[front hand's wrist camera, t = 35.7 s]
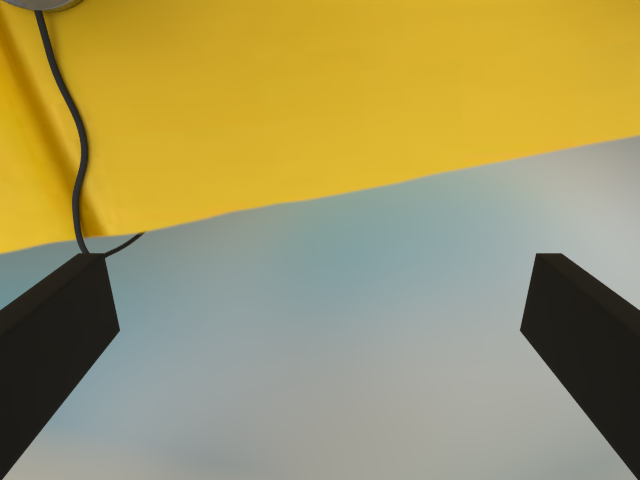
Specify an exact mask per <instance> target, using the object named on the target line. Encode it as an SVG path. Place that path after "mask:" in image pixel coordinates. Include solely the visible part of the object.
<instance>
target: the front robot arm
mask: <svg viewBox="0 0 640 480" xmlns="http://www.w3.org/2000/svg"><path fill="white" fill-rule="evenodd" d="M3 1H5V2H7V3H9V4H11V5H14V6H17V7H21V8H24V9H29V10H33V11H34V12H35V15H36V19H37V23H38V26H39V30H40V33H41V37H42V40H43V44H44V48H45V51H46V55H47V58H48V62H49V65H50V68H51V70H52V73H53V76H54V78H55V80H56V83H57V85H58V87H59V89H60V91H61V93H62V95H63V97H64V99H65V101H66V103H67V105H68V107H69V109H70V111H71V114H72V116H73V118H74V121H75V123H76V126H77V129H78V133H79V137H80V142H81V162H80V168H79V172H78V175H77V179H76V182H75V186H74V190H73V197H72V211H73V221H74V229H75V234H76V239H77V242H78V245H79V247H80V249H81V251H82V253H79V254H77V255H76V256H74V257H73V258H72V259H70V260H69V261H67V262H66V263H65V264H63V265H62V266H61V267H59V268H58V269H57V270H55V271H54V272H52V273H51V274H50V275H48V276H47V277H45V278H44V279H43V280H41V281H40V282H39V283H37V284H36V285H34V286H33V287H32V288H30V289H29V290H28V291H26V292H25V293H24V294H22V295H21V296H19V297H18V298H17V299H15V300H14V301H13V302H11V303H10V304H8V305H7V306H6V307H4V308H3V309H2V310H0V480H2V479H3V478H4V477H5V475H6V474H7V473H8V472H9V470H10V469H11V468H12V466H13V465H14V464H15V463H16V461H17V460H18V459H19V458H20V456H21V455H22V454H23V453H24V451H25V450H26V449H27V448H28V446H29V445H30V444H31V443H32V441H33V440H34V439H35V437H36V436H37V435H38V434H39V432H40V431H41V430H42V429H43V427H44V426H45V425H46V424H47V422H48V421H49V420H50V418H51V417H52V416H53V415H54V413H55V412H56V411H57V410H58V408H59V407H60V406H61V405H62V403H63V402H64V401H65V400H66V398H67V397H68V396H69V394H70V393H71V392H72V391H73V389H74V388H75V387H76V386H77V384H78V383H79V382H80V381H81V379H82V378H83V377H84V375H85V374H86V373H87V372H88V370H89V369H90V368H91V367H92V365H93V364H94V363H95V362H96V360H97V359H98V358H99V356H100V355H101V354H102V353H103V351H104V350H105V349H106V348H107V346H108V345H109V344H110V343H111V341H112V340H113V339H114V338H115V336H116V335H117V334H118V332H119V331H120V328H119V324H118V319H117V314H116V309H115V304H114V300H113V295H112V290H111V286H110V281H109V276H108V271H107V267H106V262H105V258H107V257H108V256H110V255H112V254H114V253H117V252H119V251H120V250H122V249H124V248H126V247H127V246H129V245H130V244H132V243H133V242H134V241H136V240H137V239H138V238H139V237H141V236H142V235H143V234H144V233H145V232H140V233H138V234H136V235H135V236H134V237H133V238H131V239H130V240H129V241H127V242H125V243H124V244H122V245H120V246H119V247H117V248H115V249H112V250H110V251H108V252H106V253H89V252H88V250H87V248H86V246H85V244H84V241H83V237H82V233H81V227H80V219H79V194H80V189H81V185H82V182H83V178H84V175H85V171H86V166H87V160H88V146H87V139H86V134H85V130H84V127H83V124H82V121H81V118H80V116H79V114H78V111H77V109H76V107H75V105H74V103H73V101H72V99H71V97H70V95H69V93H68V91H67V89H66V87H65V85H64V82H63V80H62V78H61V75H60V73H59V70H58V67H57V64H56V61H55V58H54V54H53V50H52V47H51V43H50V39H49V35H48V32H47V28H46V24H45V21H44V17H43V13H42V12H58V11H63V10H66V9H69V8H71V7H73V6H75V5H77V4H78V3H80V2H81V1H82V0H3ZM520 331H521V332H522V334H523V335H524V336H525V338H526V339H527V340H528V341H529V343H530V344H531V345H532V346H533V348H534V349H535V350H536V351H537V353H538V354H539V355H540V357H541V358H542V359H543V360H544V362H545V363H546V364H547V365H548V367H549V368H550V369H551V370H552V372H553V373H554V374H555V375H556V377H557V378H558V379H559V380H560V382H561V383H562V384H563V386H564V387H565V388H566V389H567V391H568V392H569V393H570V394H571V396H572V397H573V398H574V400H575V401H576V402H577V403H578V405H579V406H580V407H581V408H582V410H583V411H584V412H585V413H586V415H587V416H588V417H589V418H590V420H591V421H592V422H593V423H594V425H595V426H596V427H597V429H598V430H599V431H600V432H601V434H602V435H603V436H604V437H605V439H606V440H607V441H608V443H609V444H610V445H611V446H612V448H613V449H614V450H615V451H616V453H617V454H618V455H619V456H620V458H621V459H622V460H623V461H624V463H625V464H626V465H627V467H628V468H629V469H630V470H631V472H632V473H633V474H634V475H635V477H636V478H637V479H638V480H640V310H638V309H637V308H636V307H634V306H633V305H632V304H630V303H629V302H627V301H626V300H625V299H623V298H622V297H621V296H619V295H618V294H616V293H615V292H614V291H612V290H611V289H610V288H608V287H607V286H605V285H604V284H603V283H601V282H600V281H599V280H597V279H596V278H595V277H593V276H592V275H590V274H589V273H588V272H586V271H585V270H583V269H582V268H581V267H579V266H578V265H577V264H575V263H574V262H573V261H571V260H570V259H568V258H567V257H566V256H564V255H563V254H561V253H537V254H536V257H535V262H534V267H533V271H532V276H531V281H530V285H529V290H528V295H527V300H526V304H525V309H524V314H523V319H522V324H521V328H520Z"/></svg>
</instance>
